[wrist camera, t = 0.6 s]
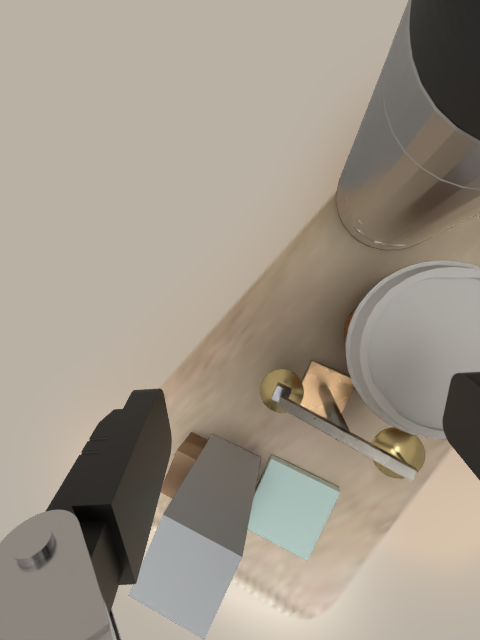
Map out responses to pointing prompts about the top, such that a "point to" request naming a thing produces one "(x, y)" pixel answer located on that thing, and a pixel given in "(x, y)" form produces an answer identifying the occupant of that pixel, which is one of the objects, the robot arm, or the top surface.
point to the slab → (291, 507)
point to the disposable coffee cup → (415, 342)
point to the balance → (339, 416)
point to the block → (182, 463)
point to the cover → (200, 538)
